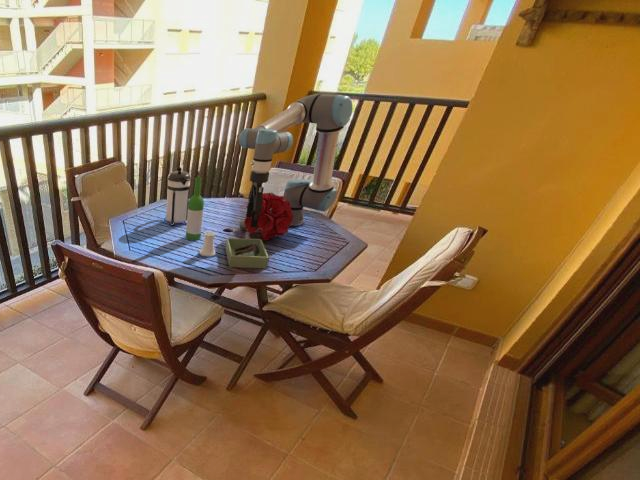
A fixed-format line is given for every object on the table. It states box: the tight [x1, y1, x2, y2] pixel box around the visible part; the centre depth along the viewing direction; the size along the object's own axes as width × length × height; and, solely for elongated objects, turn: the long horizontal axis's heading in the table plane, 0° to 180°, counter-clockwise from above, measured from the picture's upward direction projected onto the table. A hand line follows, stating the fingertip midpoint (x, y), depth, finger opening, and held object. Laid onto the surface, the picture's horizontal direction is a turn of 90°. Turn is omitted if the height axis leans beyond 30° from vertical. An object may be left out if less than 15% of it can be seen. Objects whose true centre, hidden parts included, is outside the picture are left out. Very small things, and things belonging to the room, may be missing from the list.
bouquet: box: [238, 192, 294, 242], centre depth 199 cm, size 22×24×30 cm
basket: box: [224, 237, 270, 269], centre depth 182 cm, size 22×17×5 cm
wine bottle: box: [185, 177, 205, 241], centre depth 195 cm, size 8×8×30 cm
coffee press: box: [163, 166, 192, 227], centre depth 216 cm, size 17×16×30 cm
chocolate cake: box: [234, 242, 260, 256], centre depth 182 cm, size 10×7×12 cm
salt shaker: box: [199, 231, 216, 258], centre depth 184 cm, size 8×8×10 cm
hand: (251, 221), depth 173 cm, fingers open, 13 cm apart
